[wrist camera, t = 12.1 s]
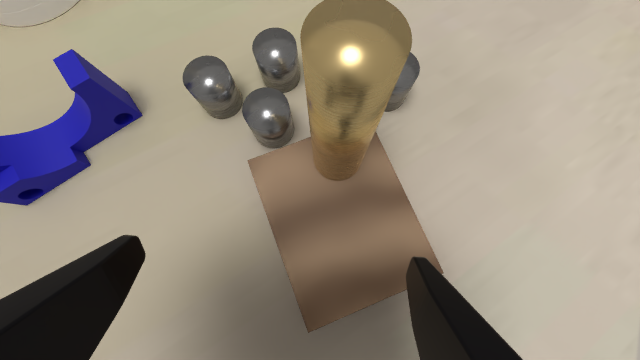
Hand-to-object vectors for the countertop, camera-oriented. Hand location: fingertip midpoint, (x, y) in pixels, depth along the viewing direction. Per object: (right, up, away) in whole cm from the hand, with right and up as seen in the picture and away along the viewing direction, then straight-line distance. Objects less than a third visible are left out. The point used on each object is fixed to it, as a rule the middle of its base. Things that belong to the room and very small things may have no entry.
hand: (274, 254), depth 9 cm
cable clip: (-20, +5, +16) cm, 26 cm away
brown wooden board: (+3, -1, +14) cm, 14 cm away
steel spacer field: (0, +10, +16) cm, 19 cm away
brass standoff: (+3, +4, +13) cm, 14 cm away
